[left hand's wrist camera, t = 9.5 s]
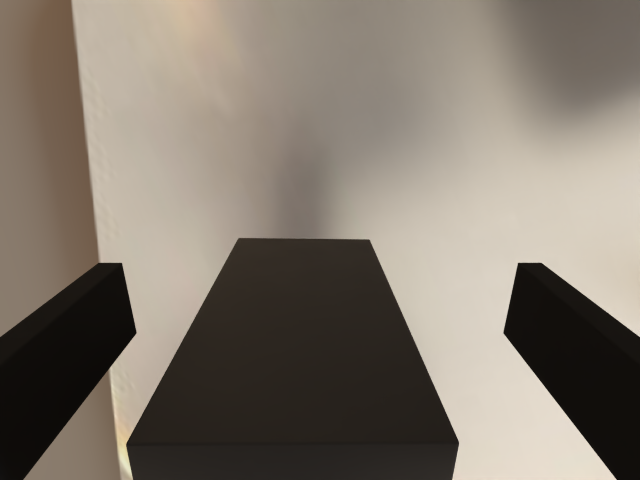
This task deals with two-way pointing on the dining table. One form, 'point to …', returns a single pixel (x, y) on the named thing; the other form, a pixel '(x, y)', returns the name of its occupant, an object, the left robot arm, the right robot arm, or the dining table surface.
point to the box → (296, 377)
